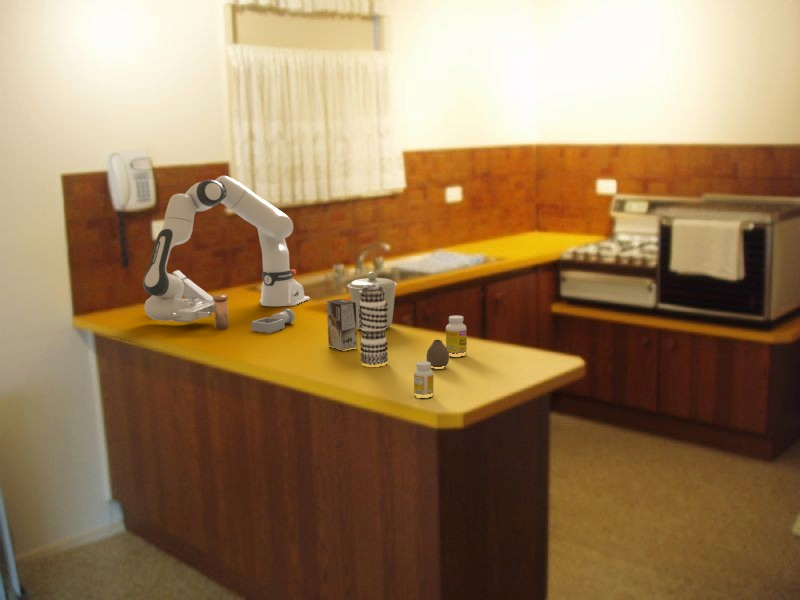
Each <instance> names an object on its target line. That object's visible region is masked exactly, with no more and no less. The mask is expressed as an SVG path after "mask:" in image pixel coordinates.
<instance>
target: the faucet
mask: <svg viewBox="0 0 800 600" xmlns="http://www.w3.org/2000/svg"><path fill="white" fill-rule="evenodd" d="M171 274H172V275H174V276H176V277H179V278H180V279H181V280H182V281H183V283H184V293H183V297H184V299H193V298H199V300H208V301H214V300H213V296H212V295H210V294H209V293H208V292H207V291H205V290H204V289H203V288H201V287H200V286H198V285H197V284H196V283H194V282H193V281H192V280H191V279H189V278H187V276H186V275H185V274H183V273H182V272H181V271H180V270H179V269H177V270H175V271H173V272H172V273H171Z"/></svg>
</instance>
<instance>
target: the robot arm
mask: <svg viewBox="0 0 800 600" xmlns="http://www.w3.org/2000/svg"><path fill="white" fill-rule="evenodd" d="M219 204H221V205H223V206H225V207H226V208H227V209H229V210H230V211H232V212H233V213H235V214H236V215H237V216H239V217H240V218H241V219H243V220H244V221H246V222H248V223H249V224H251V225H253V226H254V227H256V229H257V234H258V238H259V245H260V248H261V257H262V271H261V278H262V283H261V294H260V295H261V297H260V299H259V303H260V305H261V306H264V307H289V306H291V307H292V306H297V304H298V305H299V303H300V304H302V303H304V301H305V302H306V300H307V301H309V300H311V297H310V296H308V295H305V291H304V287H303V285H302V284H301V283H299V282H298V281H297V280H295V278H294V277H293V276H294V275H296V269H290V252H289V249H288V245H287V242H286V238H288V237H290V235H291V234H292V233H293V231H294V223H293V220H292V219H291V218H290V217H289V216H288V215H287V214H286V213H284V212H283V211H282V210H280V209H278V208H277V207H275V206H274V205H272V204H271V203H269V202H267V201H266V200H265V199H262V197H260V196H259V195H257V194H256V193H254V192H253V191H252V190H251V189H249V188H248V187H246V186H245V185H243V184H242V183H241V182H239V181H238V180H235V179H234V178H232V177H229V176H227V175H221V176H218V177H217V178H216V179H215V180H214V179H204V180H202V181H200V182H196V183H194V184H193V185H192V186H190V187H188V188H187V189H186V190H185V191H184V192H183V193H176V194H173V195H172V196H171V197H170V198H169V201H168V204H167V207H166V210H165V215H164V221H163V226H162V229H161V230H160V232H159V233H158V235H157V237H156V240H155V243H154V246H153V251H152V254H151V258H150V260H149V261H150V262H149V264H148V268H147V270H146V271H145V273H144V276H143V279H142V286H143V287H142V288H143V290H144V291H145V292H146V293H147V294H148V295H150V297H149V298H147V299H146V300H145V303H144V311H145V314H146V316H147V317H149V318H150V319H152V320H155V321H162V322H169V321H172V322H177V323H178V322H180V323H189V322H194V321H196V320H199V319H201V318H209V317H210V318H211V317H212V314H215V308H214V301H208V300H199V298H193V299H186V298H183V297H184V296H183V293H184V283H183V281H182V280H181V279H180V278H179V277H176V276H174V275H172V273H168V271H167V265H168V262H169V257H170V254H171V251H172V249H173V248H174V247H175V246H177V245H182V244H184V243H186V242H188V241H189V240H190V238H191V235H192V234H193V229H194V223H195V222H194V221H195V220H194V219H195V215H196V213H197V214H198V213H202V212H204V211H207V210H210V209H212V208H213V207H215V206H217V205H219ZM301 302H302V303H301Z"/></svg>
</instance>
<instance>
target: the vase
mask: <svg viewBox="0 0 800 600" xmlns="http://www.w3.org/2000/svg"><path fill="white" fill-rule="evenodd" d="M449 361H450V357H449V353H448V350H447V348H446V345H445V344H444V343H443V341H442V339H434V340H433V341H432V344H431V345H430V346H429V347H428V348H427V352H426V362H430V363H431V366H433V367H442V366H446V365H447V364H448V365H449ZM448 365H447V366H448ZM447 366H446V367H447Z"/></svg>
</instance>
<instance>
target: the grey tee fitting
mask: <svg viewBox="0 0 800 600" xmlns="http://www.w3.org/2000/svg"><path fill="white" fill-rule="evenodd" d="M295 317H296V316H295V313H294V311H293V309H291V308H285V309H282V310H281V311H280V312H278V313H273V314H272V315H271V316H270V317H267V316H266V317H262V318H259V319H256V320H252V321H250V323H251V331H252V332H255V331H257V332H256V333H263V332H265V333H264V334H273V333H275V331H276V332H279V331H281V330H280V329H282V330H284V329H283V328H286V327H285V325H289V323H290V324H293V322H294V321H295ZM285 323H287V324H285ZM278 330H279V331H278ZM272 332H273V333H272Z"/></svg>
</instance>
